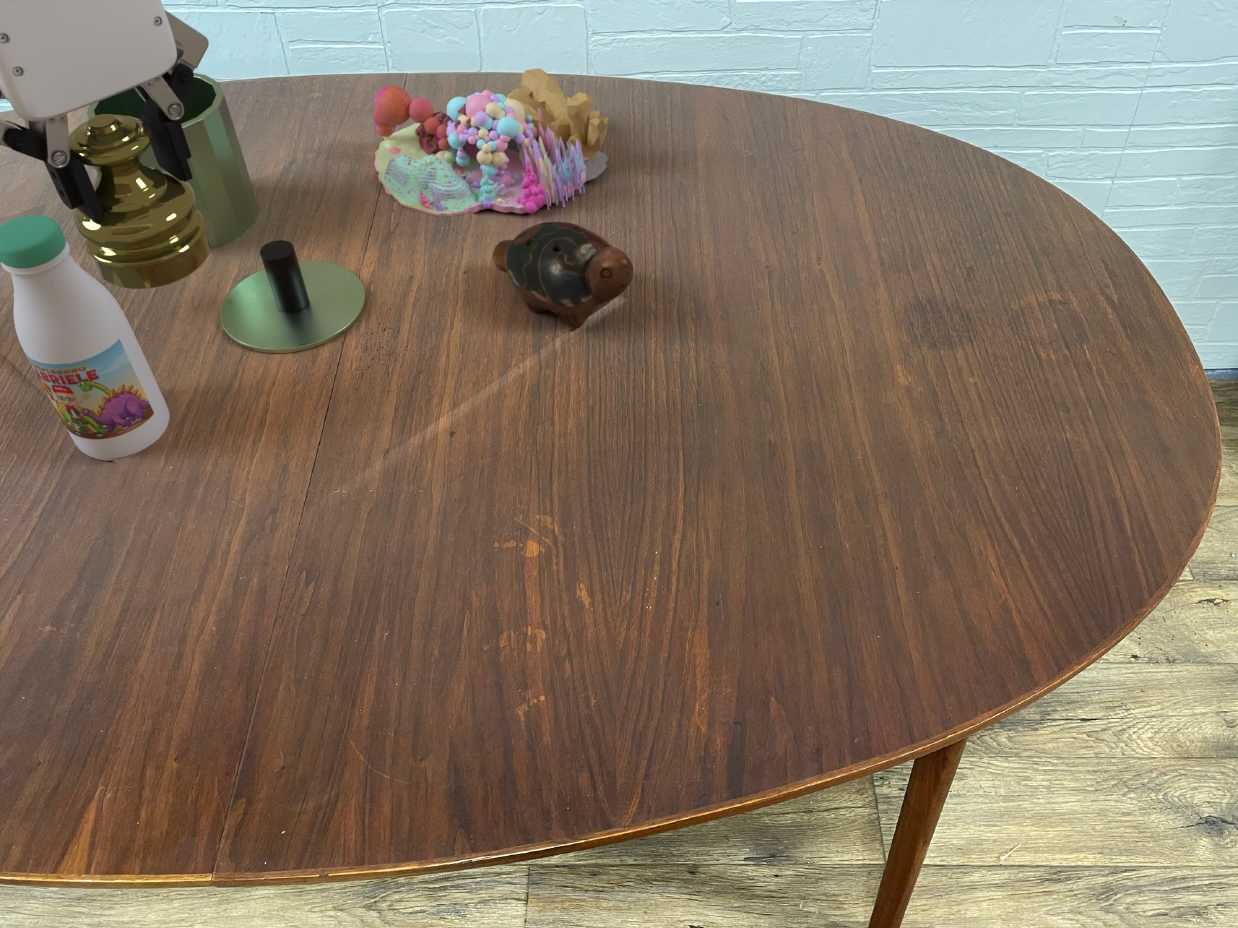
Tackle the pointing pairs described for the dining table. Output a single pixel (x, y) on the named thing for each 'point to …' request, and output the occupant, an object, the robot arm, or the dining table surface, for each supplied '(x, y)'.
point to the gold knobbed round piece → (136, 208)
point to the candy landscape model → (489, 148)
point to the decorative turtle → (563, 269)
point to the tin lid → (292, 303)
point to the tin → (204, 157)
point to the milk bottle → (80, 344)
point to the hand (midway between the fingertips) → (132, 189)
